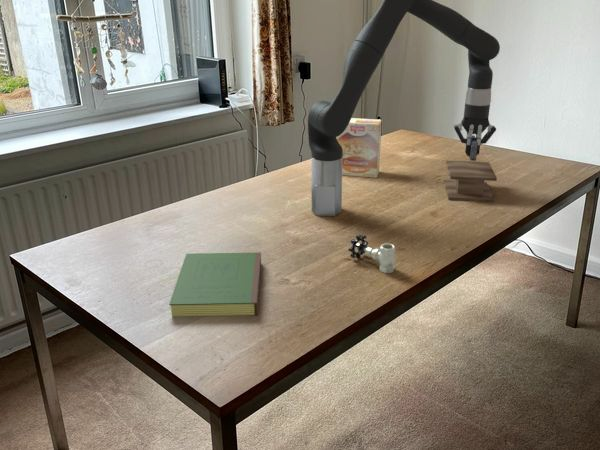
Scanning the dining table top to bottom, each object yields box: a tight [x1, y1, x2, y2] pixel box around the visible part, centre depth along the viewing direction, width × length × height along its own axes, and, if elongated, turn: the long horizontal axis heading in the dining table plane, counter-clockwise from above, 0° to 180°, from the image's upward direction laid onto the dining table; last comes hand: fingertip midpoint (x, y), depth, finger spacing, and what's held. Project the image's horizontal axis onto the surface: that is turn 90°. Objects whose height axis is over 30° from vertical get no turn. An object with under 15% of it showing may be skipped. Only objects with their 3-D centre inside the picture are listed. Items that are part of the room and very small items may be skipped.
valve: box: [348, 234, 397, 274], centre depth 150 cm, size 7×7×12 cm
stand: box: [443, 160, 498, 203], centre depth 196 cm, size 16×14×8 cm
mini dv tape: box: [468, 134, 478, 162], centre depth 191 cm, size 8×2×6 cm, turn 172°
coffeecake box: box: [336, 117, 383, 178], centre depth 212 cm, size 15×7×20 cm, turn 76°
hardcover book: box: [168, 252, 262, 318], centre depth 141 cm, size 25×19×4 cm
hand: (471, 155), depth 192 cm, fingers closed on mini dv tape, 1 cm apart
